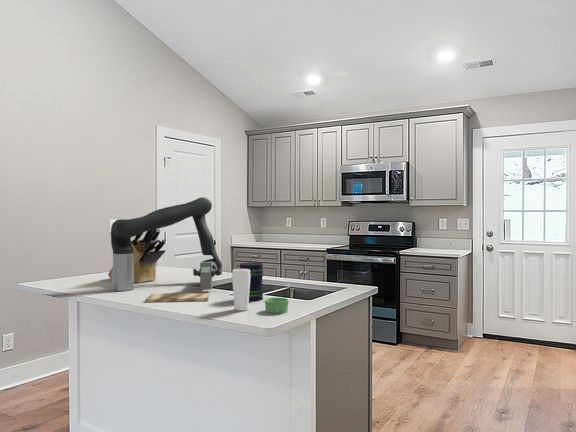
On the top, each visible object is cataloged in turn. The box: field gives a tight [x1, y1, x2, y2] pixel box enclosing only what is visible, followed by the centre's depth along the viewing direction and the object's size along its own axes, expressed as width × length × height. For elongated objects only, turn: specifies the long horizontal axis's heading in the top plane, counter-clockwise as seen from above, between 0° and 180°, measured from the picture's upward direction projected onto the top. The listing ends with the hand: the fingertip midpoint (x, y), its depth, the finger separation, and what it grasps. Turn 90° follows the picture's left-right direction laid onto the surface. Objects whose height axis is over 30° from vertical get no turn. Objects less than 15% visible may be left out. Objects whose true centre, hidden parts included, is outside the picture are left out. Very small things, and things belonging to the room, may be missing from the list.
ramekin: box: [264, 297, 290, 314], centre depth 169 cm, size 9×9×4 cm
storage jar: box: [239, 262, 264, 302], centre depth 192 cm, size 10×10×15 cm
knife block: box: [107, 228, 166, 284], centre depth 244 cm, size 11×35×31 cm, turn 57°
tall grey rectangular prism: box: [199, 261, 213, 291], centre depth 207 cm, size 5×5×12 cm
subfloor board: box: [145, 292, 211, 303], centre depth 193 cm, size 25×12×1 cm, turn 95°
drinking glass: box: [231, 268, 250, 312], centre depth 171 cm, size 7×7×15 cm
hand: (205, 274), depth 205 cm, fingers closed on tall grey rectangular prism, 5 cm apart
